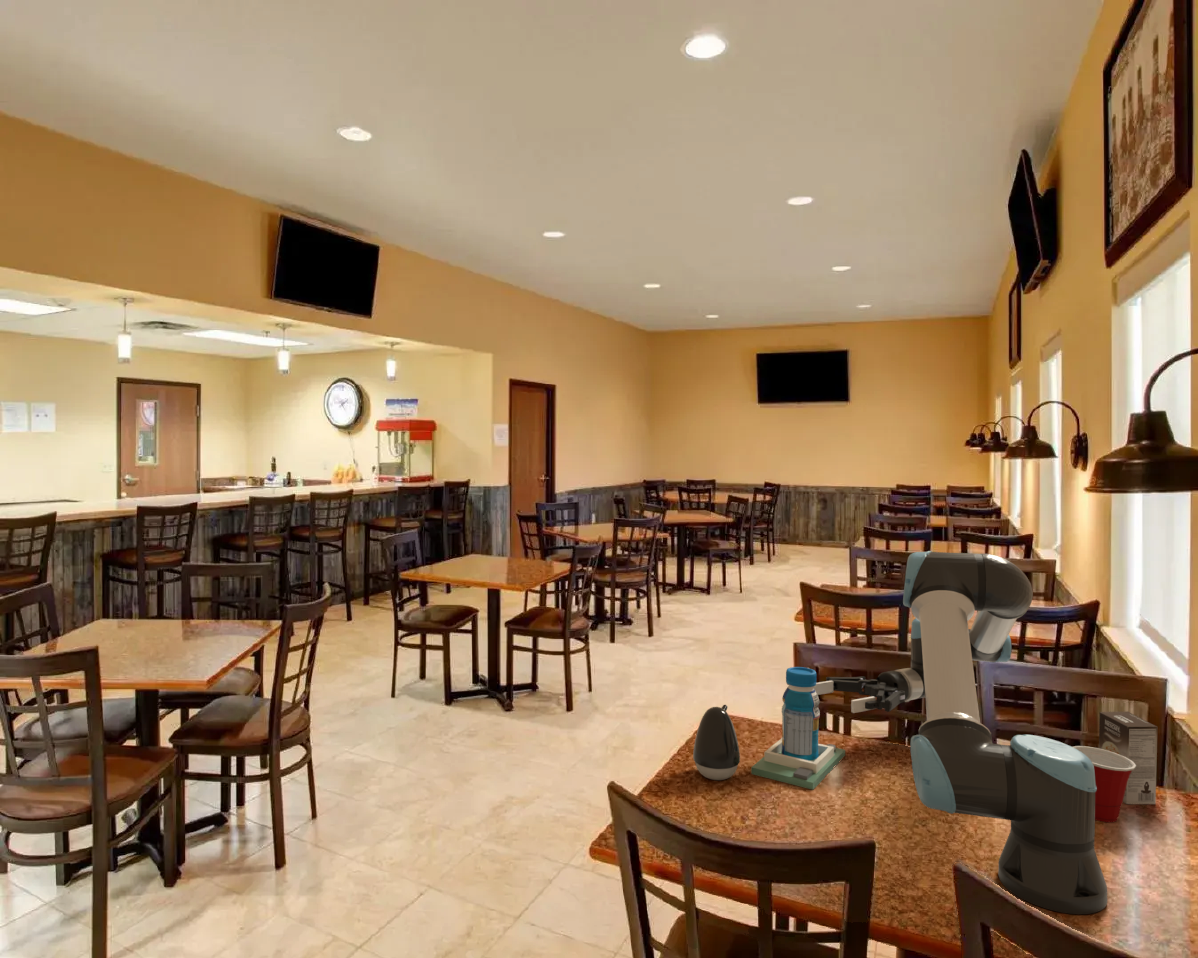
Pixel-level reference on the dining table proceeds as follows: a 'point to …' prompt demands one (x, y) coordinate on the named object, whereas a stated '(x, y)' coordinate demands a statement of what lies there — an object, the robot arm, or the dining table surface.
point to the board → (797, 765)
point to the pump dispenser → (716, 745)
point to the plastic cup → (1108, 781)
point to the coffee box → (1132, 752)
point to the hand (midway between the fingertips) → (831, 697)
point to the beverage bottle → (800, 714)
